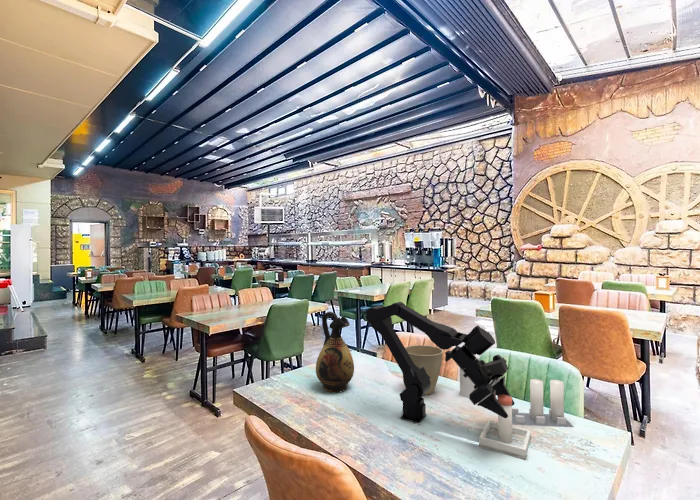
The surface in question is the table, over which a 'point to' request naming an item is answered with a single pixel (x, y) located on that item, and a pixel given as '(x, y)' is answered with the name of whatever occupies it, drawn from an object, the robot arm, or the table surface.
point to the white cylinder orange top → (505, 419)
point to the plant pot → (427, 361)
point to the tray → (505, 447)
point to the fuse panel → (536, 406)
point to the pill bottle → (466, 384)
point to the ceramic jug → (334, 356)
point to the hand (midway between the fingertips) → (510, 410)
